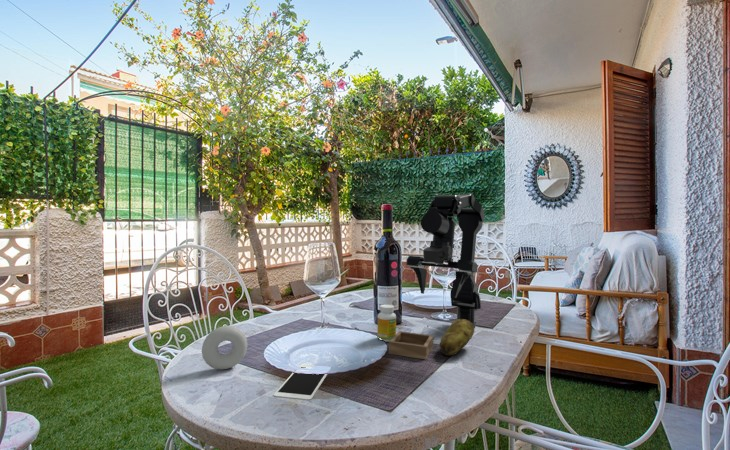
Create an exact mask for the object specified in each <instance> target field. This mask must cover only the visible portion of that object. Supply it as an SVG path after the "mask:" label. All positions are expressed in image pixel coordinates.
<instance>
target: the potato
mask: <svg viewBox="0 0 730 450" xmlns="http://www.w3.org/2000/svg"><path fill="white" fill-rule="evenodd" d="M474 332H475V328H474V325H473V323H471V322H470V321H468V320H466V319H457V318H456V319H455V320H454V321H452V323H451V324H450V325H449V327H448V328H447V329H446V331H445V332H444V333H443V336H442V337H441V339H440V342H439V349H440V351H441V353H442V354H443V355H446V357H449V356H453V355H456V354H457V353H458V352H459V351H461V350H463V349H464V348H465V347H466V346H467V344H468V343H469V342H470V340H472V338H473V336H474Z"/></svg>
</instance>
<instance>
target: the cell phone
mask: <svg viewBox="0 0 730 450" xmlns="http://www.w3.org/2000/svg"><path fill="white" fill-rule="evenodd" d="M315 365H316V364H310V363H309V364H308V363H300V364H299V365H298V366H297V367H301V368H306V367H311V366H315ZM327 376H328V374H319V375H316V374H314V375H312V374H297V373H293V372H292V373H291V374H290V376H289V377H288V378H287V379H286V380H285V381H284V382H283V383H282V384H281V385H280V387H279V388H278V389H277V390H276V391H275V392H274V393H273V397H276V398H284V399H294V400H303V401H311V400H312V399H313V398H314V396H315V394H316V393H317V391H318V390H319V388H320V387H321V385H322V384H323V382H324V380H325V379H326V377H327Z"/></svg>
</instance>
